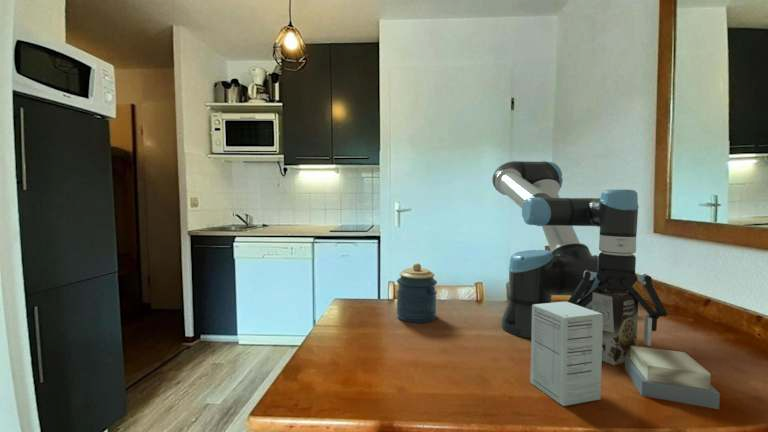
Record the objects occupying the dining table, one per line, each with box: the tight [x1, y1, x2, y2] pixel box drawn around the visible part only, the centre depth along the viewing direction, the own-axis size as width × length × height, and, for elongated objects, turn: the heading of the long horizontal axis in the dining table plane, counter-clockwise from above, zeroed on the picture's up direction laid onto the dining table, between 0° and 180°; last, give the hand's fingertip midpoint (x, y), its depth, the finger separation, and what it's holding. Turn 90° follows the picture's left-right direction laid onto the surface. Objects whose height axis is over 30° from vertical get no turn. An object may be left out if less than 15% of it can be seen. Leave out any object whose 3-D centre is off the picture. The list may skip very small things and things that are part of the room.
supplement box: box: [529, 301, 603, 407], centre depth 71 cm, size 10×9×17 cm
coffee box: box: [591, 289, 639, 366], centre depth 87 cm, size 9×6×16 cm
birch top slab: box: [630, 345, 712, 389], centre depth 73 cm, size 10×10×3 cm
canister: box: [396, 262, 438, 324], centre depth 115 cm, size 13×13×18 cm
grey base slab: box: [624, 356, 721, 410], centre depth 73 cm, size 12×12×4 cm
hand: (613, 339), depth 87 cm, fingers open, 13 cm apart
